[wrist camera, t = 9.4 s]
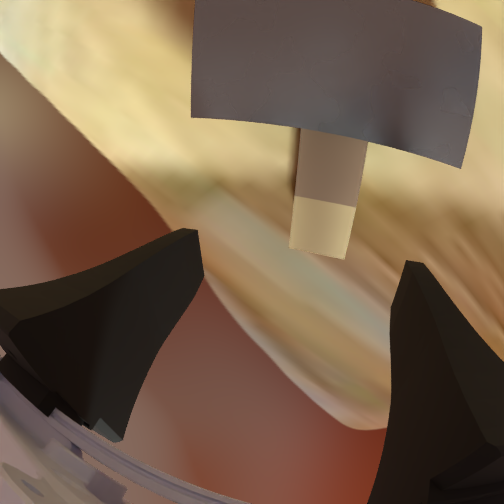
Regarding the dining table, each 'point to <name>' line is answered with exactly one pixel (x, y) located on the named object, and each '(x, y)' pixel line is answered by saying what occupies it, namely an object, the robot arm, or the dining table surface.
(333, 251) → the capped rod
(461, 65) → the sleeve housing
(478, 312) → the dining table surface
